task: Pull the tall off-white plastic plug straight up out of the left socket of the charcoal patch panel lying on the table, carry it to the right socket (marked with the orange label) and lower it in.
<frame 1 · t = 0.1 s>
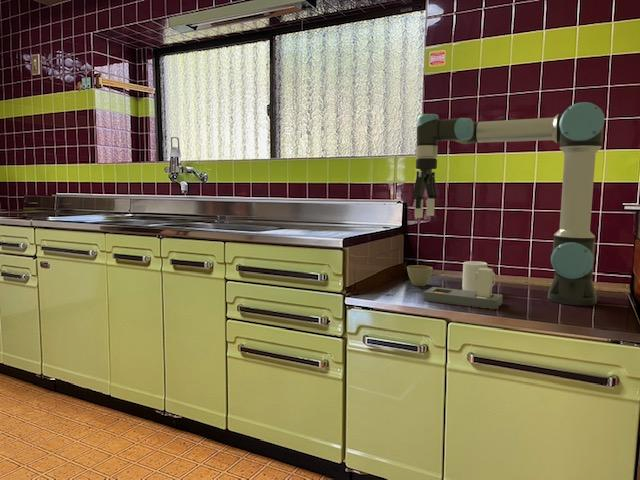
hand: (424, 216, 179), 28 cm above the countertop, fingers open, 13 cm apart
mug: (478, 292, 183), on the countertop
panel: (462, 301, 166), on the countertop
plug: (483, 304, 162), resting in panel
flower pot: (419, 285, 194), on the countertop
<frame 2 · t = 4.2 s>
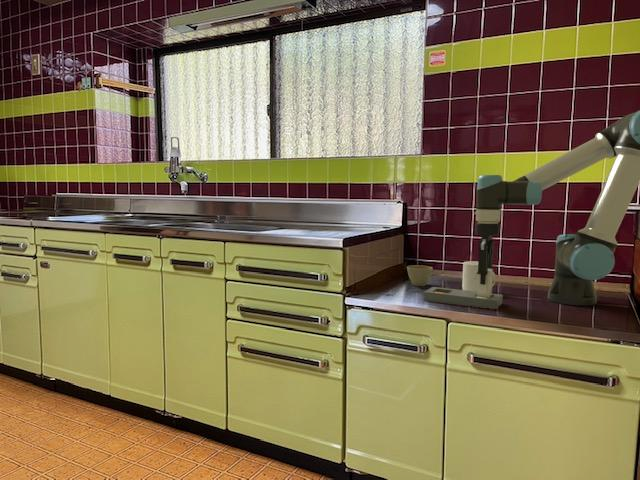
hand: (484, 292, 162), 4 cm above the countertop, fingers closed on plug, 4 cm apart
plug: (483, 304, 162), resting in panel, touching gripper
everything else where it was.
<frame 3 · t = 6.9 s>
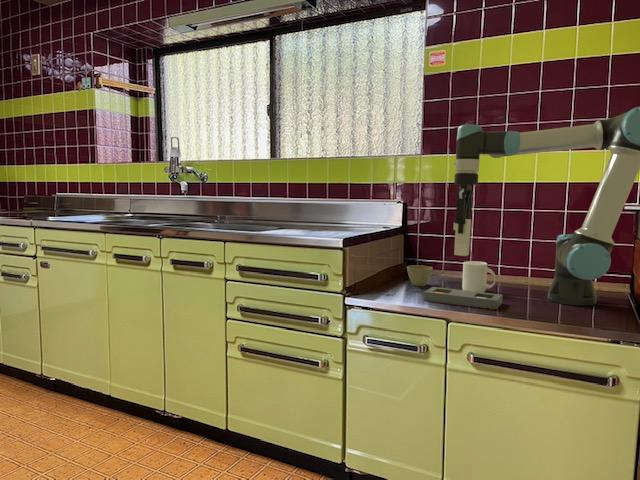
hand: (462, 242, 164), 20 cm above the countertop, fingers closed on plug, 4 cm apart
plug: (461, 254, 164), point 16 cm above the countertop, touching gripper
everything else where it was.
when the fingers open (5 cm above the countertop, at t = 9.7 s): plug stays where it is, resting in panel.
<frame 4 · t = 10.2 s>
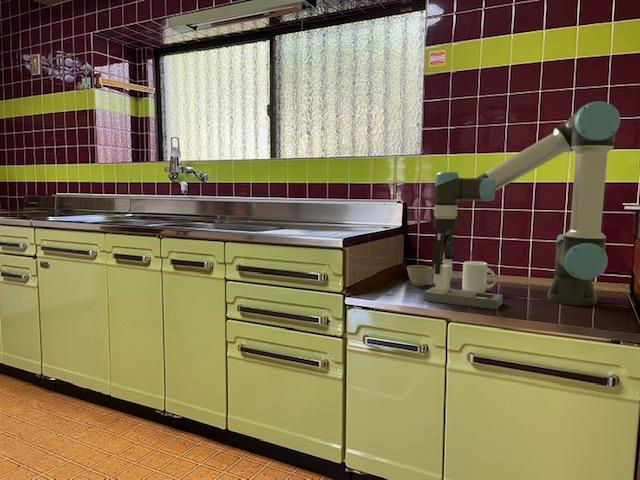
hand: (442, 280, 169), 7 cm above the countertop, fingers open, 11 cm apart
plug: (442, 299, 169), resting in panel
everything else where it was.
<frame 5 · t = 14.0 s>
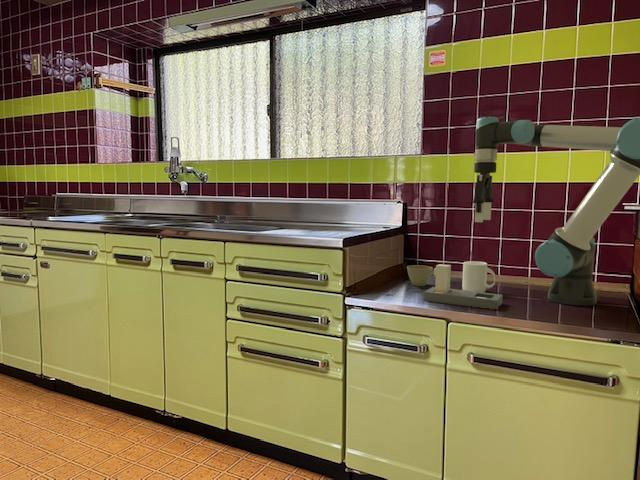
hand: (482, 221, 177), 27 cm above the countertop, fingers open, 13 cm apart
nothing on the countertop moved.
at the end: plug 0.0 cm from the target spot on the panel, point 0.0 cm above the panel's base; plug tilted 0°; the gripper is holding nothing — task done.
